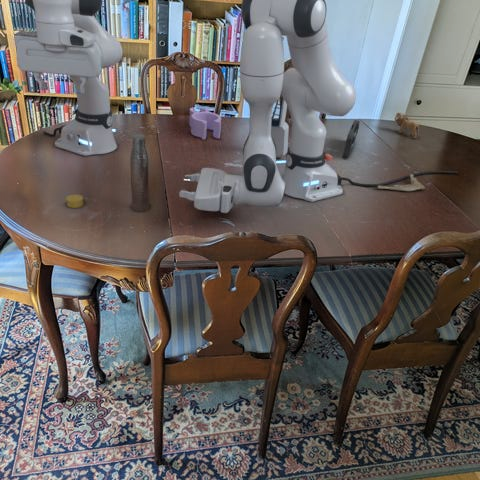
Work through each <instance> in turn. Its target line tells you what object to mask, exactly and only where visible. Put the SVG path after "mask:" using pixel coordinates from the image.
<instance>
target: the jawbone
mask: <svg viewBox="0 0 480 480" xmlns="http://www.w3.org/2000/svg"><path fill="white" fill-rule="evenodd" d="M413 174H414V173H410V174H409V175H410V177H409V179H410V184H409V183H408V184H393V186H388V185H383V186H380V185H378V186H377V187H376V188H377V189H380V190H391V191H400V192H409V193H410V192H415V191H419V190H425V189H426V187H425V185H424V184H422V183H421V182H419V181H418V179H417V176H413Z"/></svg>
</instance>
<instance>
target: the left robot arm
mask: <svg viewBox="0 0 480 480" xmlns="http://www.w3.org/2000/svg"><path fill="white" fill-rule="evenodd" d="M24 4H25V5H27V6H28V7H29V8H30V9H31V10H33V12H35V13H34V24H35V30H36V31H26V30H19V31H18V32H16V33H15V34H14V36H13V41H14V42H13V43H14V46H15V47H16V52H15V53H16V66H17V67H18V69H19V70H20V71H22V72H31V73H32V75H33V78H34V79H35V80H36V82H37V83H38V85H39V90H40V91H48V90H49V85H48V81H45V80H44V79H43V77H42V75H43V74H53V75H62V76H69V78H70V79H71V81H72V83H73V85H74V88H75V93H76V101H77V108H76V109H75V110H74V111H71V115H72V116H74V115H75V116H74V118H73V119H72V120H71V121H69V122H68V123H67V124H64V125H62V126H59V127H56V128H54V130H53V133H49V132H47V131H43V134H44V135H46V136H49V137H56V136H57V132H58V134H59V135H60V137H59V138H57V139H56V140H55V142H54V146H55V147H57V148H59V149H62V150H65V151H69V152H72V153H74V154H78V155H80V156H84V157H85V156H86V157H87V156H92V155H105V154H108V153H111V152H114V151H115V150H116V149H117V148H118V145H117V142H116V140H115V135H114V132H115V133H116V129H115V128H113V111H112V109H111V97H110V89H109V87H108V86H107V85H106V84H105V83H104V82H102V81H100V79H99V76H100V75H101V74H102V71H103V69H108V68H111V67H113V66H115V65H116V64H118V63H119V62H120V61H121V60H122V57H123V47H122V44H121V42H120V40H119V39H118V38H117V37H116V36H114V35H113V34H111V33H109V32H108V31H107V30H106V29H105V28H104V27H103V26H102V25H101V23H100V22H99V21H98V20H97V18H96V17H95V15H96V14H97V13H98V12H99V11H100V10H101V8H102V7H103V0H24Z"/></svg>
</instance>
